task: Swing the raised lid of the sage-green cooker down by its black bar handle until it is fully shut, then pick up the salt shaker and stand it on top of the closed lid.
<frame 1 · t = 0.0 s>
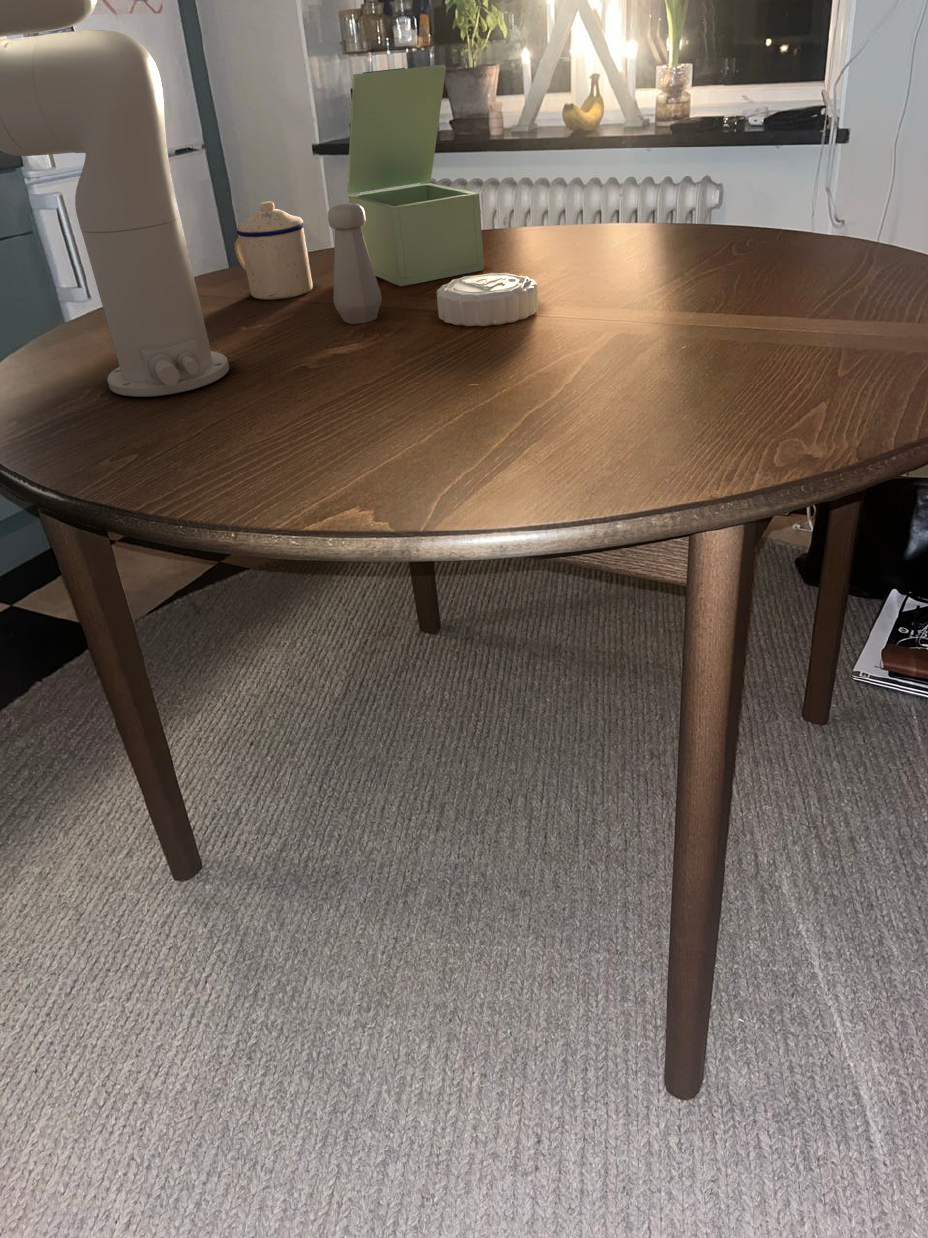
cooker lid: (387, 120, 131), point 19 cm above the table, hinge at 60.0°
mooncake: (488, 314, 113), on the table
salt shaker: (360, 320, 115), on the table
cooker: (419, 269, 136), on the table
teacup with lid: (275, 293, 132), on the table
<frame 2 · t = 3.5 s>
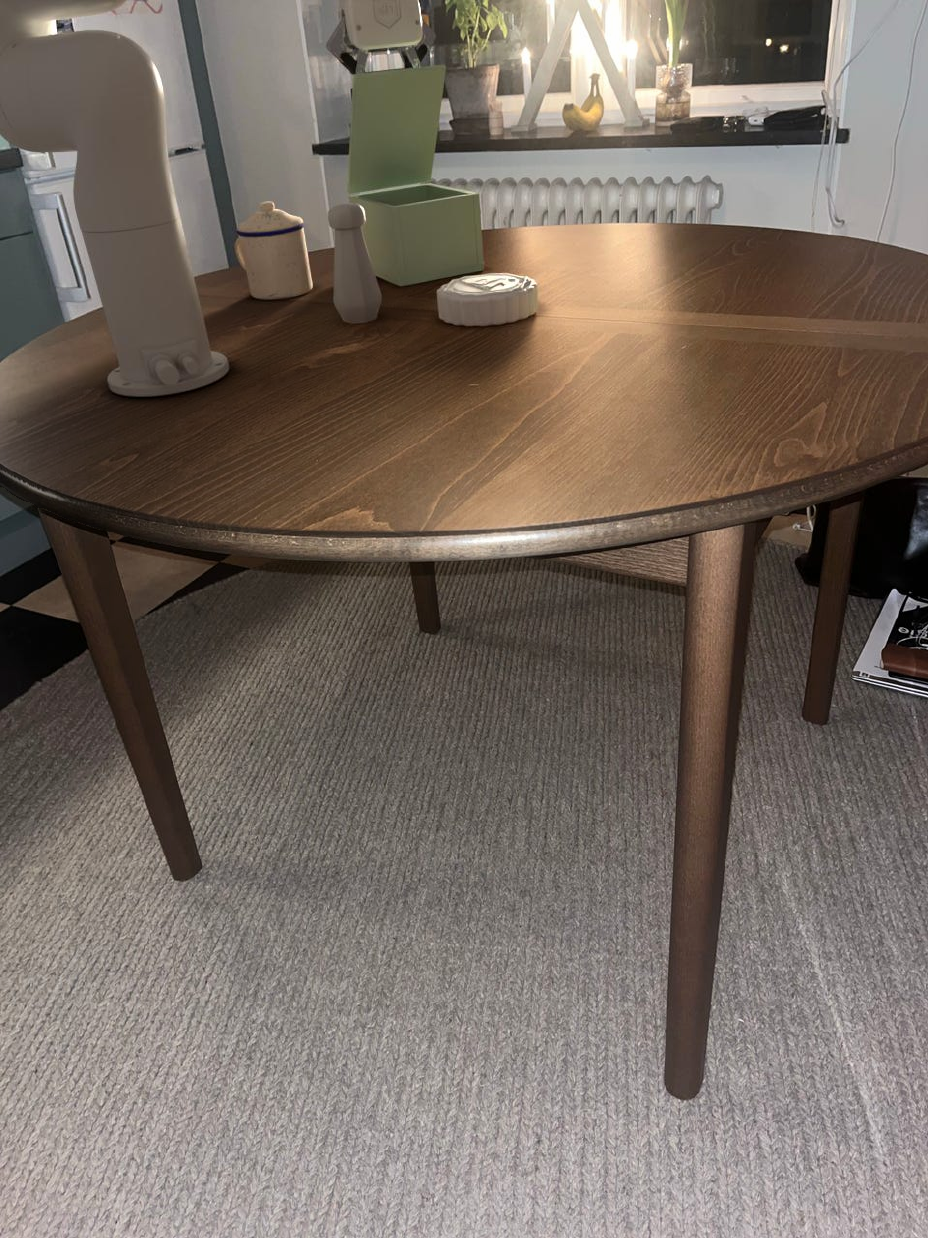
hand: (388, 103, 129), 21 cm above the table, tool pointing down, fingers closed on cooker lid, 6 cm apart
cooker lid: (387, 120, 131), point 19 cm above the table, hinge at 60.0°, touching gripper
everything else where it was.
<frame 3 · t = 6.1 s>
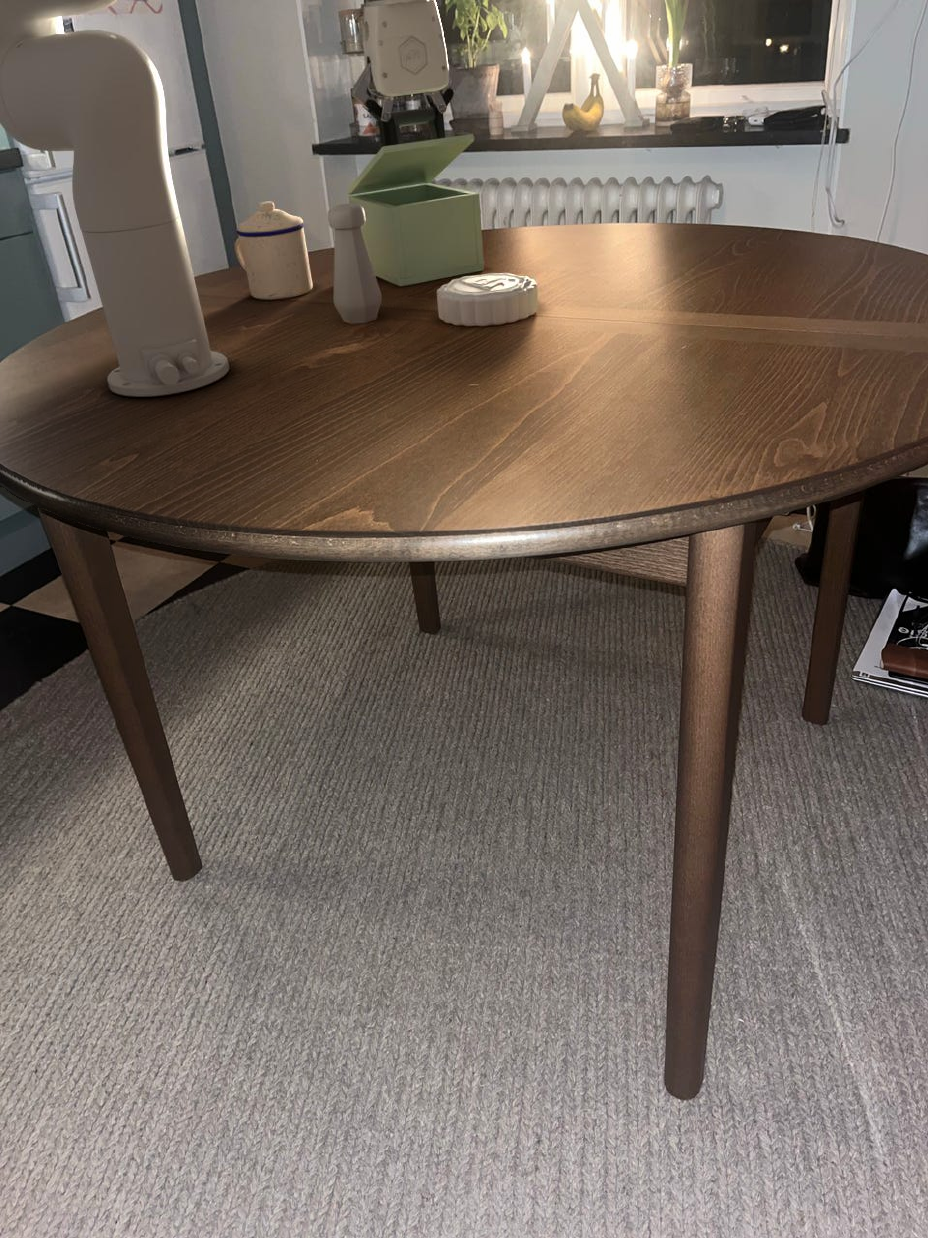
hand: (414, 148, 126), 16 cm above the table, tool pointing down, fingers closed on cooker lid, 6 cm apart
cooker lid: (403, 146, 129), point 16 cm above the table, hinge at 22.3°, touching gripper
everything else where it was.
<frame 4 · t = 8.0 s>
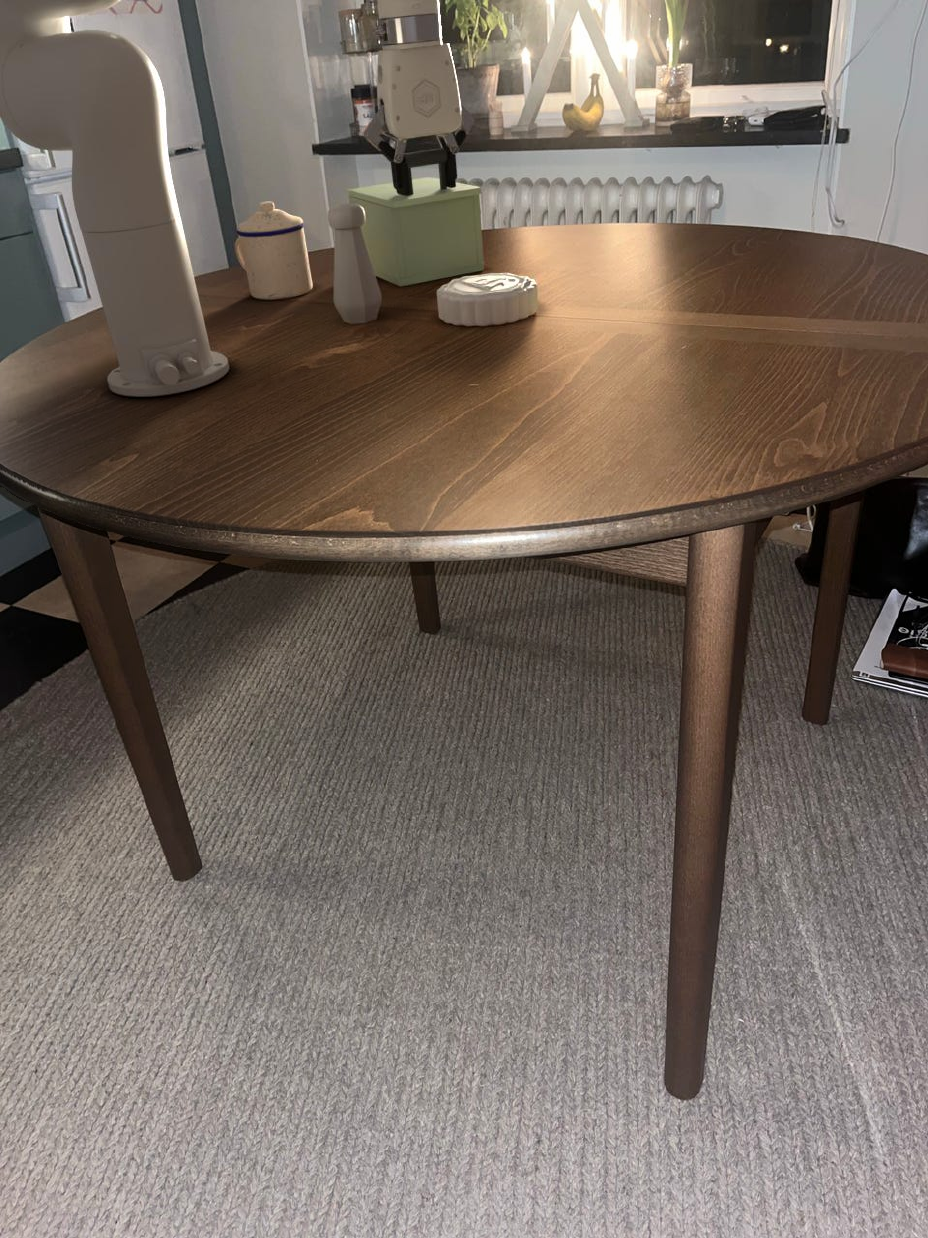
hand: (426, 189, 127), 11 cm above the table, tool pointing down, fingers closed on cooker lid, 6 cm apart
cooker lid: (410, 171, 129), point 13 cm above the table, hinge at -0.1°, touching gripper
everything else where it was.
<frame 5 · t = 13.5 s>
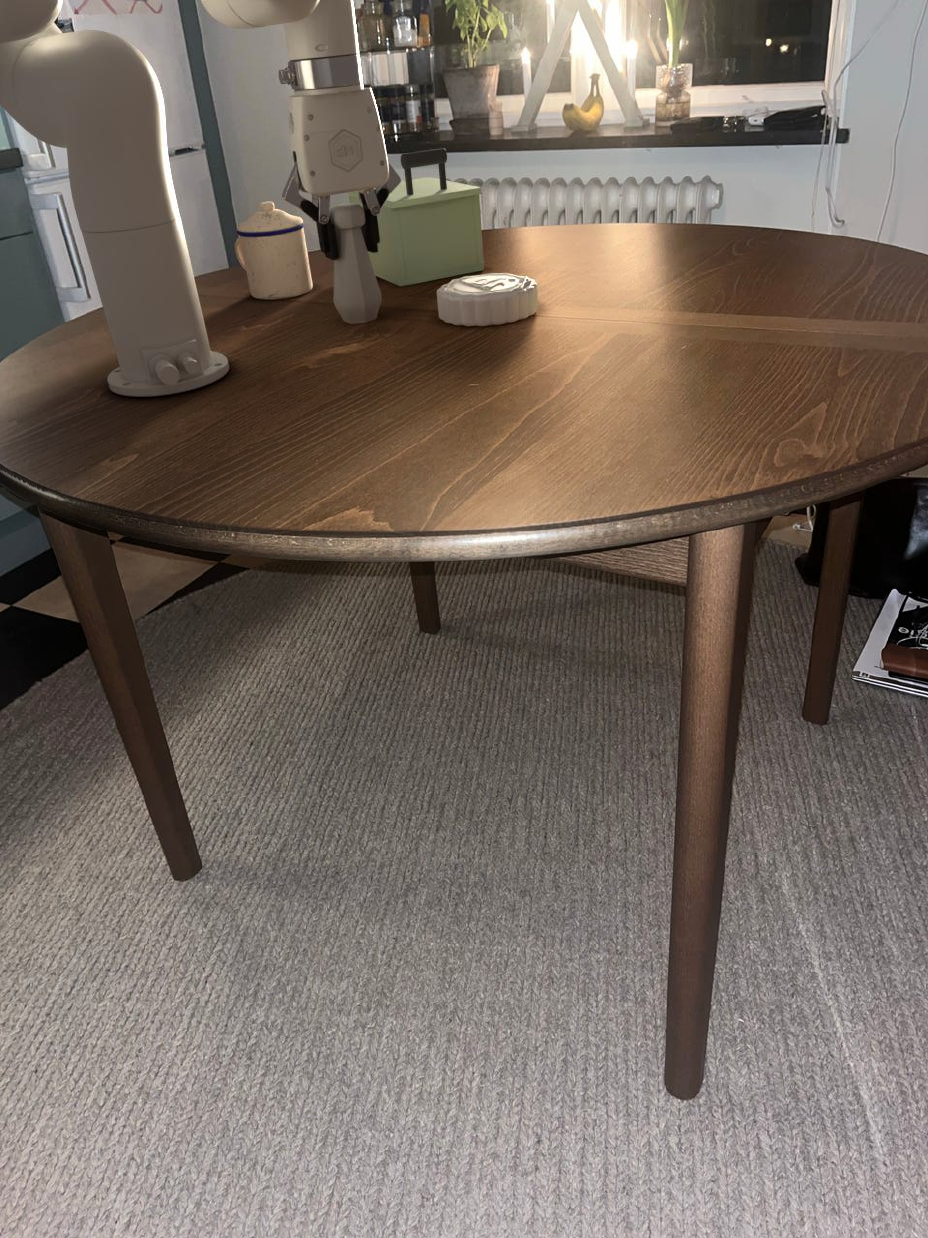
hand: (351, 252, 111), 8 cm above the table, tool pointing down, fingers closed on salt shaker, 4 cm apart
cooker lid: (410, 171, 129), point 13 cm above the table, hinge at -0.2°, touching cooker
salt shaker: (360, 320, 115), on the table, touching gripper
everything else where it was.
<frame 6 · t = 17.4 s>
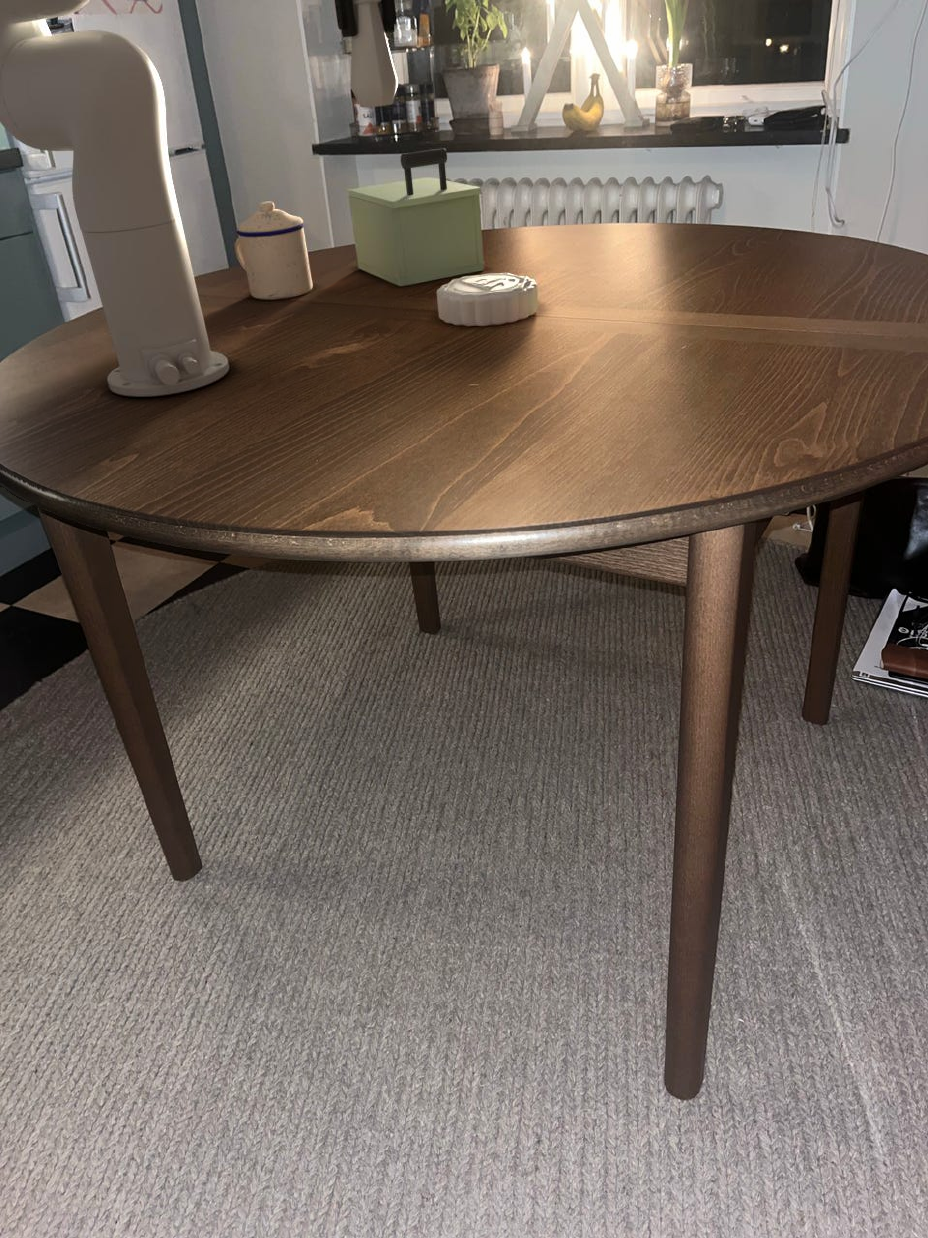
hand: (368, 32, 113), 30 cm above the table, tool pointing down, fingers closed on salt shaker, 4 cm apart
salt shaker: (377, 106, 117), point 22 cm above the table, touching gripper
everything else where it was.
when the fingers open (19 cm above the table, at t = 21.7 s): salt shaker stays where it is, resting on cooker lid.
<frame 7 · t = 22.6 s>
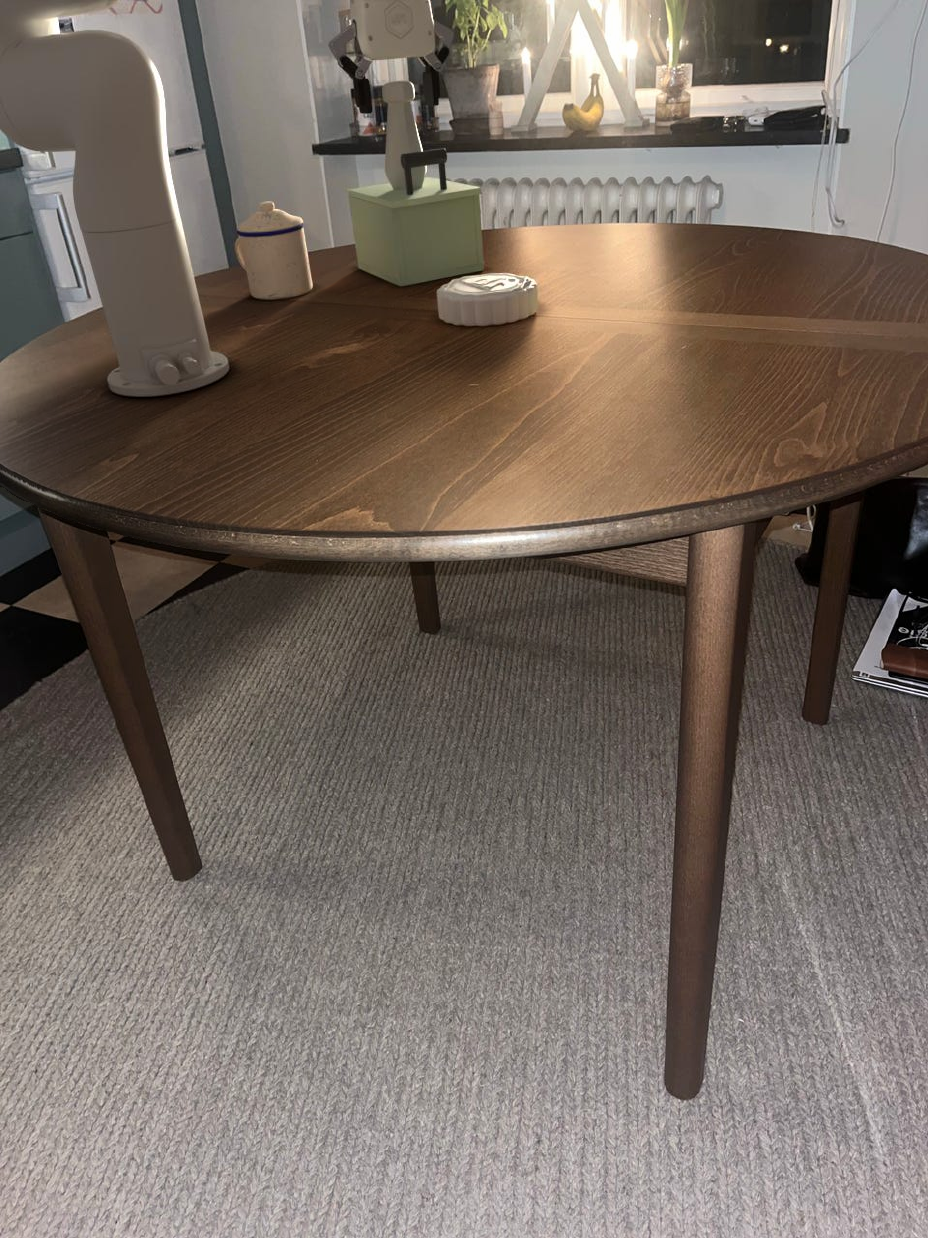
hand: (399, 109, 126), 21 cm above the table, tool pointing down, fingers open, 9 cm apart
cooker lid: (410, 171, 129), point 13 cm above the table, hinge at -0.2°, touching salt shaker
salt shaker: (408, 189, 132), point 11 cm above the table, touching cooker lid
everything else where it was.
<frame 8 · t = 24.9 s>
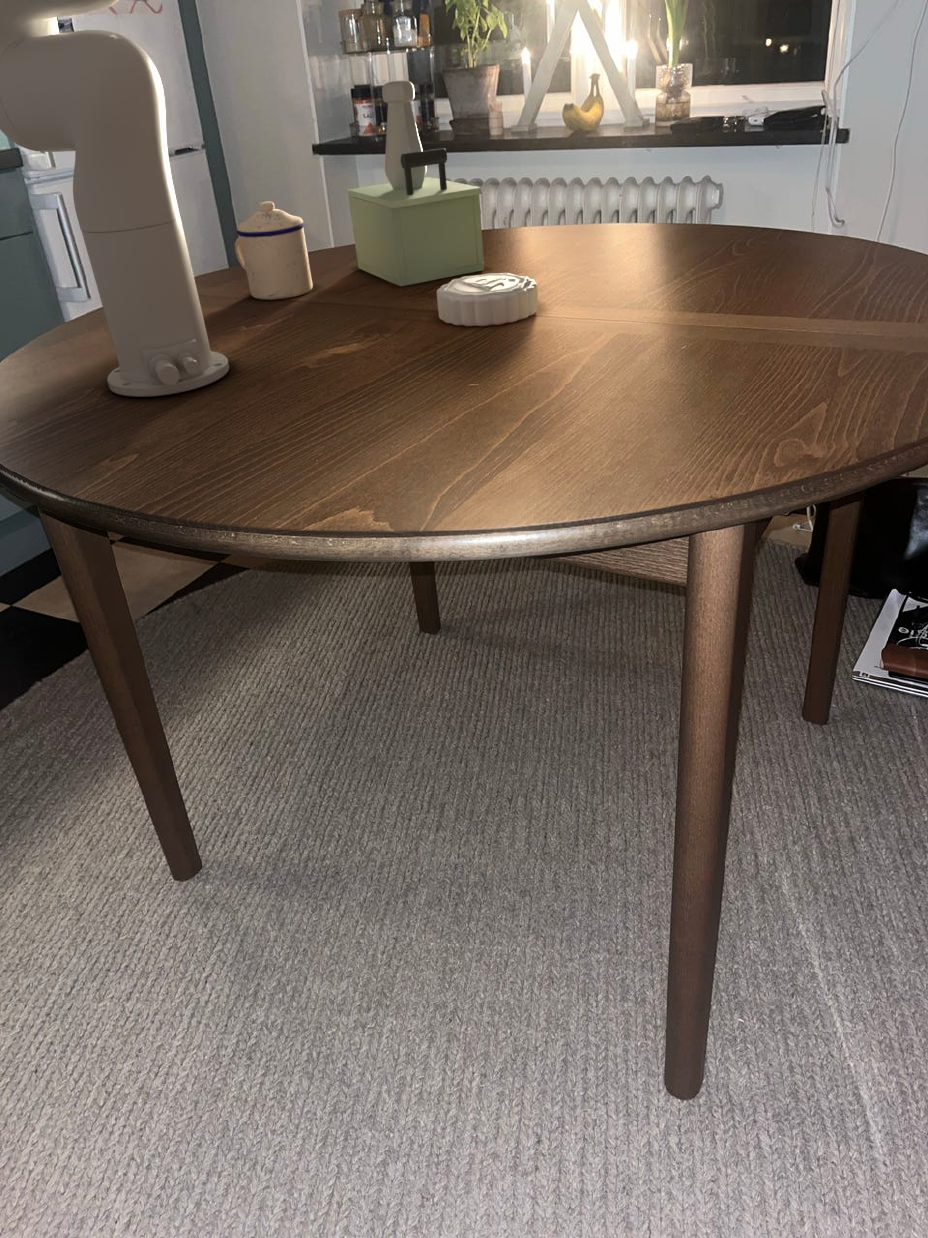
nothing on the table moved.
at the end: cooker lid at +0° (first picture: +60°); salt shaker inside the target area on the cooker (0.9 cm from its centre), point 10.6 cm above the cooker's base; salt shaker tilted 0° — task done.
